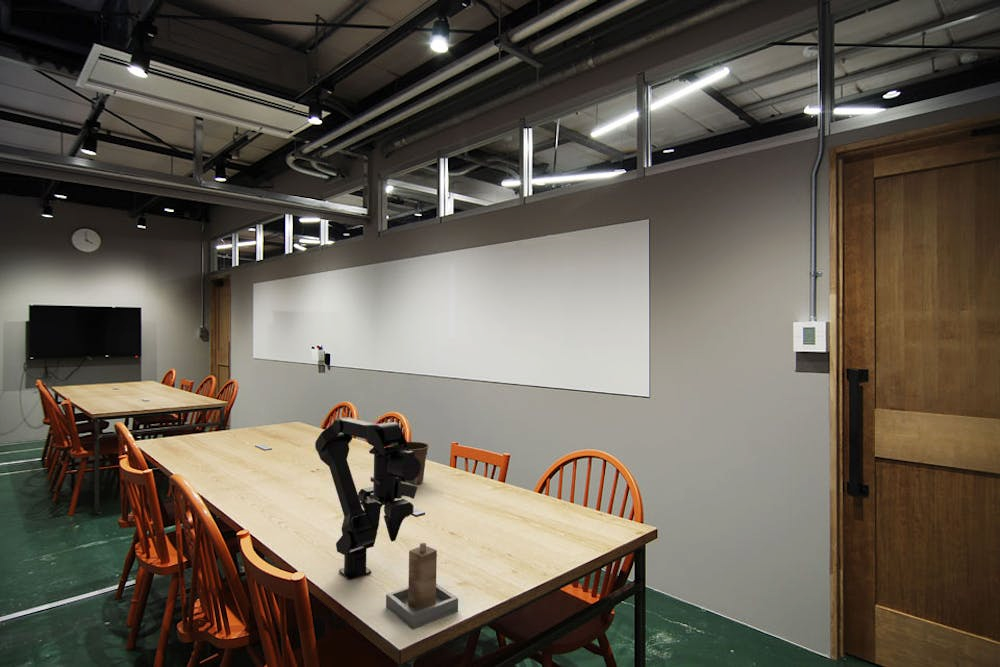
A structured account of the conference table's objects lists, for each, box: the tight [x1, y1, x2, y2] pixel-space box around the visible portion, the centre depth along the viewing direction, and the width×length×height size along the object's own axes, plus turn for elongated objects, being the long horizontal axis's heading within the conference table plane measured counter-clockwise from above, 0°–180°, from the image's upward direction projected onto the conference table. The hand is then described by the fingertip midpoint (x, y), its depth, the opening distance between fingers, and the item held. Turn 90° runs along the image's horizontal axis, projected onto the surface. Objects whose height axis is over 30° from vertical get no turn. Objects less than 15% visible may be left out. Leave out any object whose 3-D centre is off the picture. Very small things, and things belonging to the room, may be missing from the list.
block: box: [407, 542, 438, 611], centre depth 118 cm, size 4×4×14 cm
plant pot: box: [392, 441, 430, 486], centre depth 223 cm, size 16×16×16 cm
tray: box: [385, 583, 459, 631], centre depth 118 cm, size 12×12×3 cm
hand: (384, 535), depth 128 cm, fingers open, 9 cm apart
